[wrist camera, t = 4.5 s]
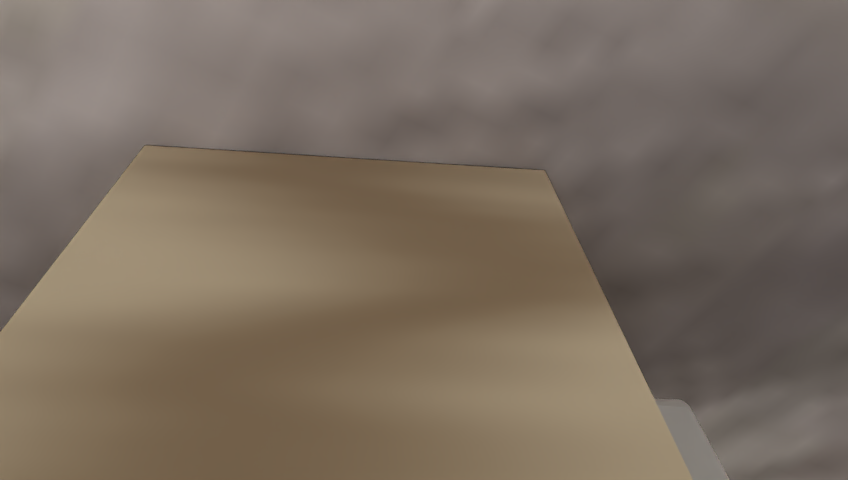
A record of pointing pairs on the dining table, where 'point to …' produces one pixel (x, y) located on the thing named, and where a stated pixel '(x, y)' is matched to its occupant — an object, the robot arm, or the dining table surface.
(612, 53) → the dining table surface
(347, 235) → the maple block
